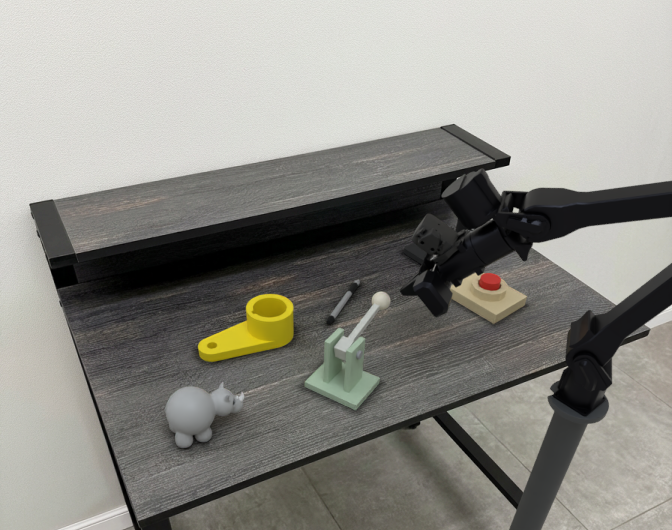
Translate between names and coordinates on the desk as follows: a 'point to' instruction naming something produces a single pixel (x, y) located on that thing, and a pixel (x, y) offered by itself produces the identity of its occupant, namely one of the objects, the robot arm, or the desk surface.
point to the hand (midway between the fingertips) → (401, 292)
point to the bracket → (343, 374)
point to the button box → (488, 299)
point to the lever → (362, 324)
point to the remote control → (415, 253)
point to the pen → (343, 302)
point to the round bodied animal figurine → (198, 412)
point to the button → (490, 281)
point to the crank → (253, 330)
